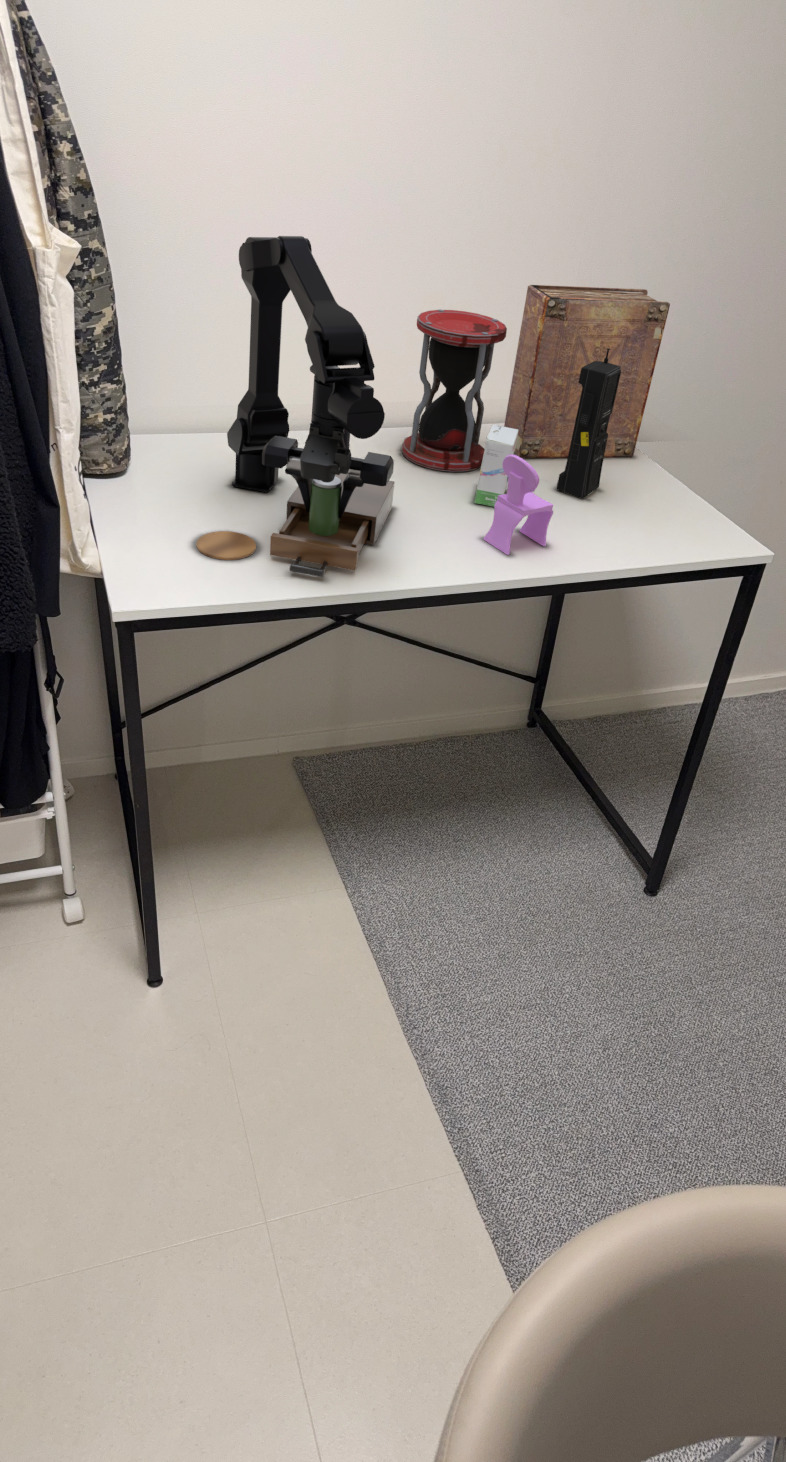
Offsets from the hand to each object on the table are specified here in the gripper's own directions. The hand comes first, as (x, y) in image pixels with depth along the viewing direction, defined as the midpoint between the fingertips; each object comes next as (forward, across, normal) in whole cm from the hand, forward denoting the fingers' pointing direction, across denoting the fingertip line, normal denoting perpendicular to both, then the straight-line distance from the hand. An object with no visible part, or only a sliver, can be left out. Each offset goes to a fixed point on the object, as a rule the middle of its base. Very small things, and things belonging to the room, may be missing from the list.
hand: (324, 514), depth 158 cm
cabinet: (+6, 0, +13) cm, 14 cm away
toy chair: (+6, +29, +16) cm, 34 cm away
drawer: (+6, 0, -1) cm, 6 cm away
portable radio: (+6, +38, +43) cm, 58 cm away
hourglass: (+6, +12, +49) cm, 51 cm away
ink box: (+6, +23, +33) cm, 41 cm away
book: (+6, +35, +64) cm, 74 cm away
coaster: (+6, -14, -4) cm, 16 cm away
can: (+2, 0, 0) cm, 2 cm away
